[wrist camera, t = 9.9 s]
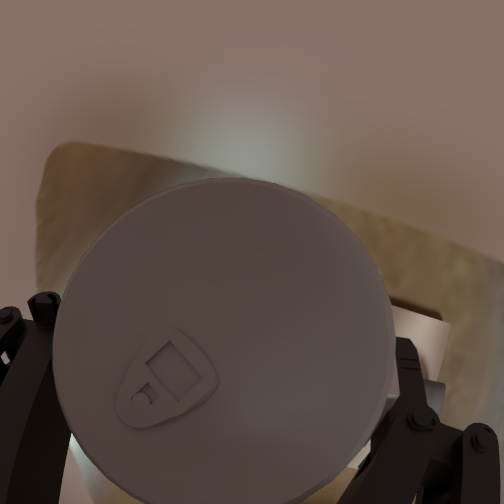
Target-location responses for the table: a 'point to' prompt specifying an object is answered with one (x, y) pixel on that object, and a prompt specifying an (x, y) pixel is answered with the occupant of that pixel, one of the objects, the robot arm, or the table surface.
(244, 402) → the canned food
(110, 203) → the table surface
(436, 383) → the plate
